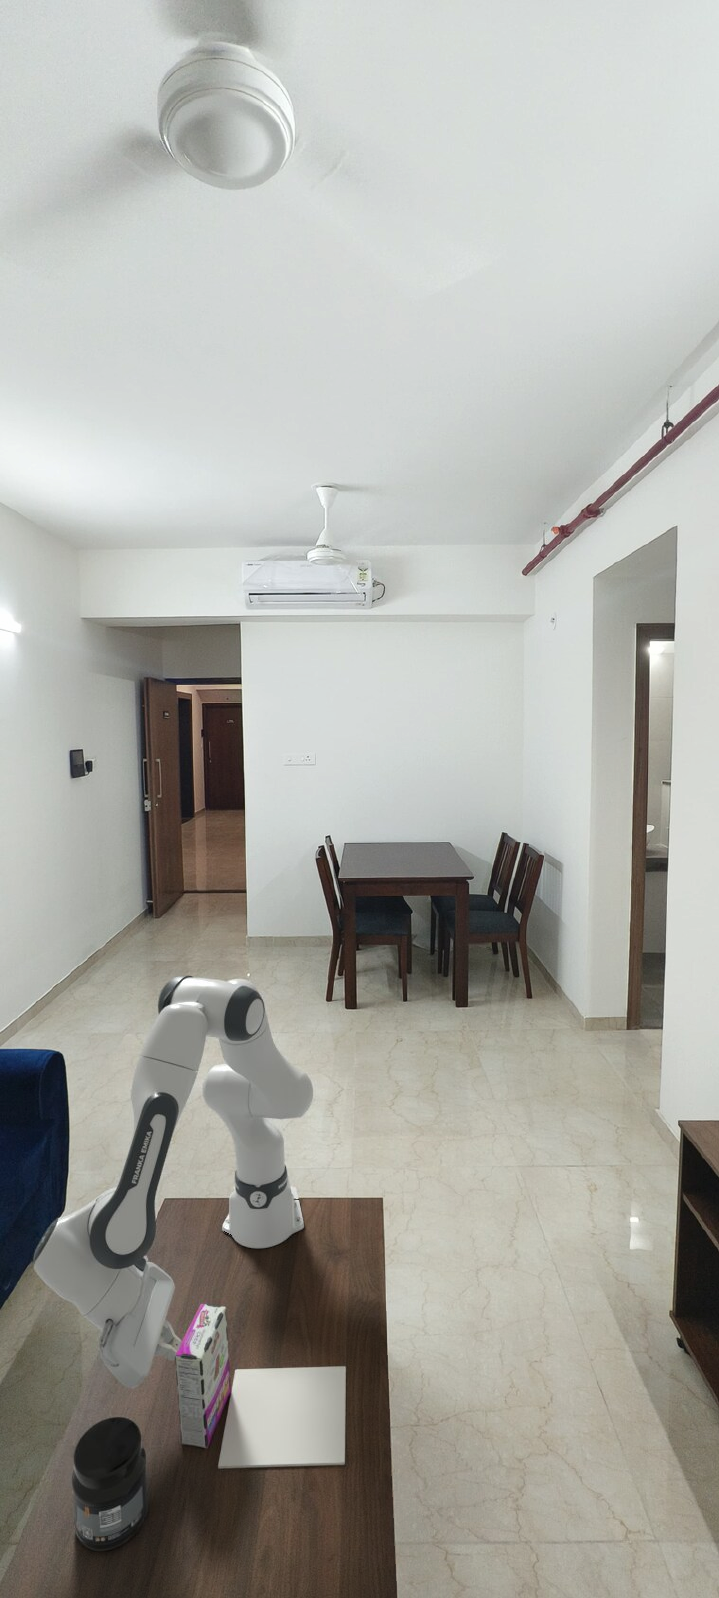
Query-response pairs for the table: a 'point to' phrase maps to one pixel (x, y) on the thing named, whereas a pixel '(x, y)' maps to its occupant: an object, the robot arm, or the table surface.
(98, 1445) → the supplement container
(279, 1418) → the mat
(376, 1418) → the table surface
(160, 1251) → the table surface
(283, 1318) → the table surface
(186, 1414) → the candy bar box
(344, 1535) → the table surface
